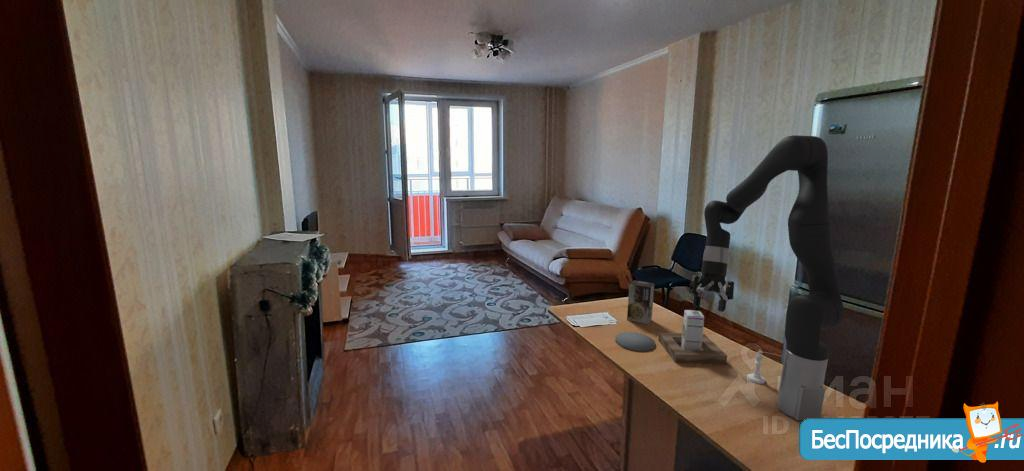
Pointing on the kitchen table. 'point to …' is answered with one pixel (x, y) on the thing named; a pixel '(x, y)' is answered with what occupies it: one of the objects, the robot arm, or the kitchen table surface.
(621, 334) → the slate mat
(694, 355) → the walnut holder
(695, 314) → the syrup box
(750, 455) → the kitchen table surface
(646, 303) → the coffee box
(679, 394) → the kitchen table surface
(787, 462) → the kitchen table surface
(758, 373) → the chess piece
